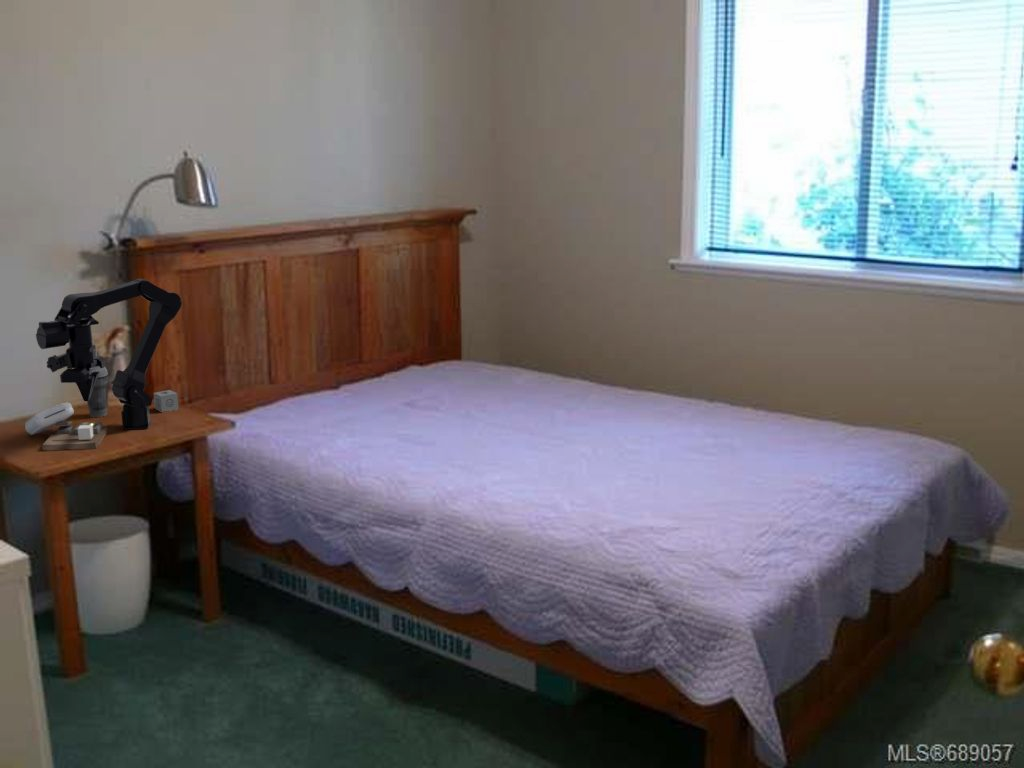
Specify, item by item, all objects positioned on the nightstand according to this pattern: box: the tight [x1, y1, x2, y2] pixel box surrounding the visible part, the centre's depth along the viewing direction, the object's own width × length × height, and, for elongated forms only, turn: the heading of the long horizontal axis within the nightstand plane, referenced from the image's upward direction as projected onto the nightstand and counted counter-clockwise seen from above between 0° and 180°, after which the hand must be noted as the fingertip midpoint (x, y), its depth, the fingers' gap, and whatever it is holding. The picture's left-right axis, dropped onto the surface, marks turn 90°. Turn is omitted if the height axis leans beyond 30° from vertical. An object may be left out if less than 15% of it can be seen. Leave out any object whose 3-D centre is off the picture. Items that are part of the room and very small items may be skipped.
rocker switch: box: [56, 420, 73, 427], centre depth 292 cm, size 3×4×1 cm, turn 8°
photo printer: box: [24, 402, 75, 436], centre depth 293 cm, size 10×4×12 cm
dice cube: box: [153, 389, 179, 413], centre depth 319 cm, size 5×5×5 cm
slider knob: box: [78, 425, 93, 440], centre depth 285 cm, size 3×3×3 cm
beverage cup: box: [86, 346, 109, 418], centre depth 311 cm, size 7×7×20 cm
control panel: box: [41, 421, 108, 451], centre depth 289 cm, size 13×14×3 cm
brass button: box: [81, 421, 95, 428], centre depth 293 cm, size 3×3×2 cm
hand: (86, 400), depth 291 cm, fingers closed
